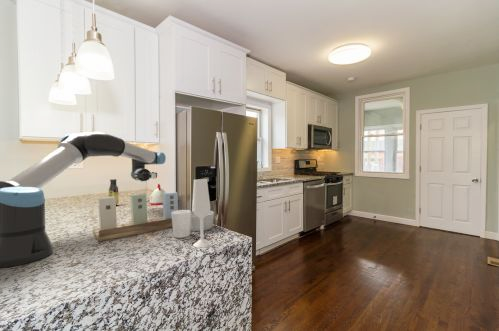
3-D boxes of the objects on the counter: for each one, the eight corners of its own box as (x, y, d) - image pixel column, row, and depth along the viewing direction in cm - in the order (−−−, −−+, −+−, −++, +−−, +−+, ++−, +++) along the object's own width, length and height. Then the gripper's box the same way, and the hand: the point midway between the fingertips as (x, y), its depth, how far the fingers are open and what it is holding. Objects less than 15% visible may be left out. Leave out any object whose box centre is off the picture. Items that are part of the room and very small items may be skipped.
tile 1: (99, 229, 105) (98, 198, 105) (115, 227, 109) (113, 196, 109) (101, 231, 102) (99, 199, 102) (116, 228, 106) (115, 197, 106)
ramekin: (179, 229, 109) (178, 214, 109) (200, 223, 120) (199, 209, 120) (200, 234, 102) (199, 217, 101) (220, 226, 112) (220, 211, 112)
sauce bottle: (107, 206, 175) (106, 179, 174) (116, 205, 179) (116, 178, 179) (110, 207, 170) (109, 179, 170) (120, 205, 175) (119, 178, 174)
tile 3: (163, 221, 117) (162, 193, 117) (175, 219, 121) (174, 191, 121) (166, 223, 114) (165, 193, 114) (178, 220, 118) (177, 192, 117)
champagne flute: (205, 239, 93) (203, 178, 93) (215, 244, 88) (213, 179, 88) (189, 244, 89) (187, 179, 88) (199, 248, 84) (197, 180, 83)
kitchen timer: (150, 206, 171) (150, 185, 171) (148, 203, 183) (147, 184, 183) (170, 204, 178) (170, 184, 178) (167, 201, 190) (166, 182, 190)
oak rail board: (93, 232, 107) (93, 223, 107) (172, 219, 130) (171, 211, 130) (98, 241, 95) (97, 231, 95) (184, 224, 117) (183, 216, 117)
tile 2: (131, 224, 113) (130, 194, 113) (144, 221, 117) (144, 193, 117) (133, 225, 110) (132, 195, 110) (147, 223, 114) (146, 194, 114)
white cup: (195, 235, 100) (194, 211, 100) (178, 239, 94) (177, 214, 94) (185, 231, 105) (184, 209, 105) (168, 236, 100) (167, 212, 99)
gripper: (153, 180, 150) (166, 182, 132) (131, 181, 142) (141, 183, 124) (153, 168, 150) (166, 168, 132) (130, 169, 142) (141, 169, 124)
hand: (154, 176), depth 128 cm, fingers closed
